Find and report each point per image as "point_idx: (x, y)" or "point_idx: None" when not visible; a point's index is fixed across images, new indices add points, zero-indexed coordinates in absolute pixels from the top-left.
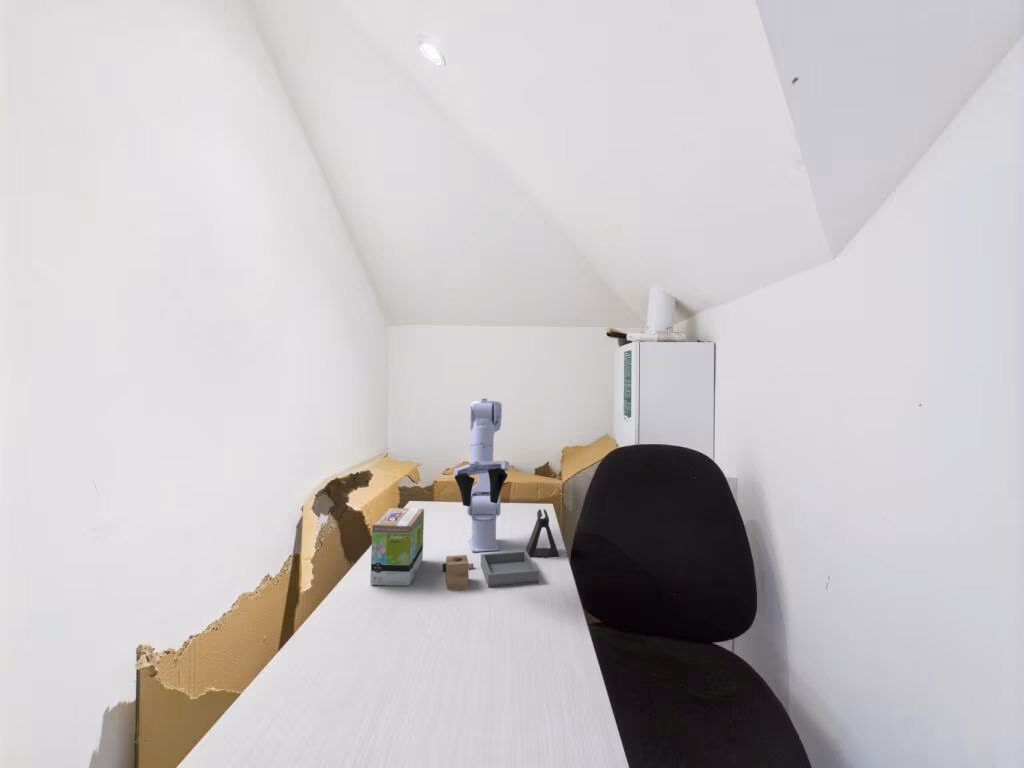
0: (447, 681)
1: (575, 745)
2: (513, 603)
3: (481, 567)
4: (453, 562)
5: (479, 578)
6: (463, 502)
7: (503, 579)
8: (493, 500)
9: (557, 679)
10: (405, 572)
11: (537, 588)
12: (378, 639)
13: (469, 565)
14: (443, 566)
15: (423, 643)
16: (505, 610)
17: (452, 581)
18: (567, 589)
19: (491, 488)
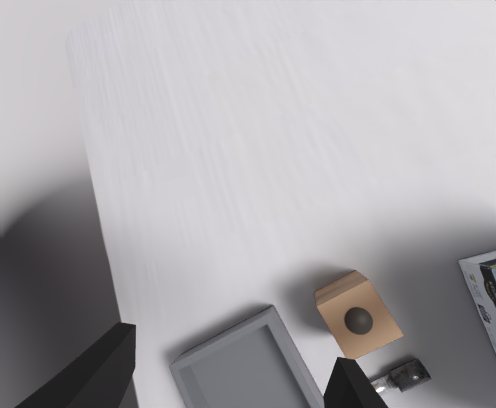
0: (234, 45)
1: (92, 30)
2: (207, 257)
3: None
4: (359, 298)
5: (308, 343)
6: (355, 369)
7: (241, 324)
8: (111, 329)
9: (116, 103)
10: (488, 260)
11: (179, 328)
12: (384, 73)
13: None
14: (419, 363)
15: (305, 95)
16: (214, 229)
17: (348, 278)
18: None
19: (59, 398)
